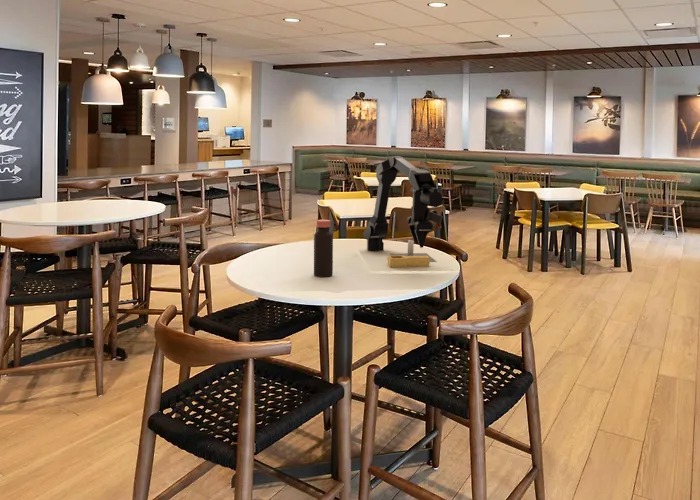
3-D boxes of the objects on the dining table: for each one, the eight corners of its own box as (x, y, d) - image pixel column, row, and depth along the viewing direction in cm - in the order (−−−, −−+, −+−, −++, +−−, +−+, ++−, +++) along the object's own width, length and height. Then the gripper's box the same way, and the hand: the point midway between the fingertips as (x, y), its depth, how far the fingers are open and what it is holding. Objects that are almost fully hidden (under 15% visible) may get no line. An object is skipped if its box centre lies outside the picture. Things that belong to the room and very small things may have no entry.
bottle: (325, 278, 217) (326, 222, 213) (310, 275, 221) (310, 220, 217) (336, 274, 223) (336, 220, 219) (320, 272, 226) (321, 218, 223)
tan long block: (426, 266, 239) (426, 255, 238) (430, 269, 233) (430, 258, 232) (387, 266, 237) (387, 255, 237) (390, 270, 231) (390, 258, 230)
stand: (396, 265, 241) (397, 246, 239) (389, 256, 258) (389, 238, 257) (436, 264, 242) (437, 246, 241) (426, 255, 260) (426, 238, 259)
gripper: (447, 207, 223) (446, 249, 225) (435, 201, 241) (433, 241, 244) (417, 207, 221) (416, 249, 224) (407, 201, 240) (406, 241, 242)
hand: (418, 245), depth 234 cm, fingers open, 9 cm apart
